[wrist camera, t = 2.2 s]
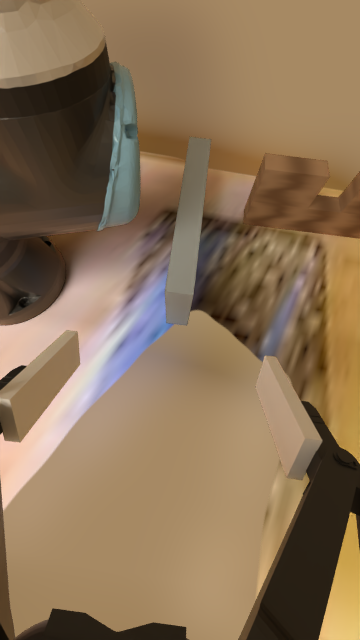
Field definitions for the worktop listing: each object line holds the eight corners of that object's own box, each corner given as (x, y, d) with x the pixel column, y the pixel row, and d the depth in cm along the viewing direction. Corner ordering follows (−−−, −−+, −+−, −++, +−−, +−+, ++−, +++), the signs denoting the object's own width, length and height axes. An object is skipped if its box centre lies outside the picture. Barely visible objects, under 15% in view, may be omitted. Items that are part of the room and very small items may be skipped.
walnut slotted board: (243, 223, 41) (265, 169, 31) (243, 210, 42) (265, 153, 32) (371, 239, 40) (432, 189, 31) (369, 225, 41) (427, 173, 32)
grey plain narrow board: (187, 325, 34) (193, 295, 25) (166, 322, 34) (164, 291, 25) (202, 198, 42) (211, 139, 33) (185, 196, 42) (189, 136, 33)
